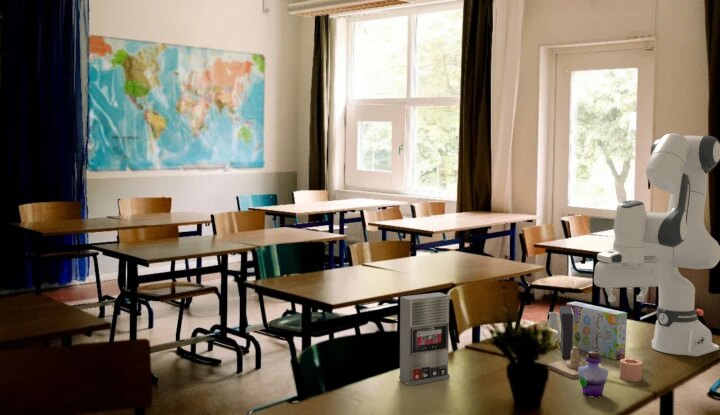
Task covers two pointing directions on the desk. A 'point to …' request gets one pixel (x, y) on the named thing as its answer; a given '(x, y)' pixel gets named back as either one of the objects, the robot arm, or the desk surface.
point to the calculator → (567, 331)
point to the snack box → (599, 330)
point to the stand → (568, 365)
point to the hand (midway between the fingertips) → (626, 301)
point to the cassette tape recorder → (424, 338)
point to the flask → (554, 324)
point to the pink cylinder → (631, 369)
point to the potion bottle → (592, 375)
